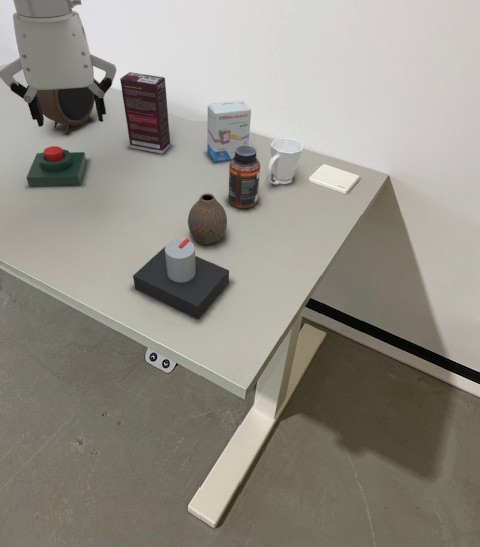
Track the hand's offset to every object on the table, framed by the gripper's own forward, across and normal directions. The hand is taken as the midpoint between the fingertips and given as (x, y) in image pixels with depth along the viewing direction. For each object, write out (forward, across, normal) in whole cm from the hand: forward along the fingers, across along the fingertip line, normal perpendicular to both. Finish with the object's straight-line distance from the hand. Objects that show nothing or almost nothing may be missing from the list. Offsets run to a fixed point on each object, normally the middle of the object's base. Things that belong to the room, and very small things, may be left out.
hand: (71, 120), depth 71 cm
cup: (+17, -39, +1) cm, 43 cm away
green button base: (+16, +6, -12) cm, 21 cm away
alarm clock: (+17, +2, -35) cm, 39 cm away
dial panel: (+16, -13, +27) cm, 34 cm away
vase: (+17, -20, +16) cm, 31 cm away
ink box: (+17, -31, -12) cm, 38 cm away
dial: (+13, -13, +27) cm, 33 cm away
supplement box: (+17, -14, -20) cm, 30 cm away
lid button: (+13, +6, -12) cm, 19 cm away
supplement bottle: (+17, -29, +7) cm, 34 cm away
